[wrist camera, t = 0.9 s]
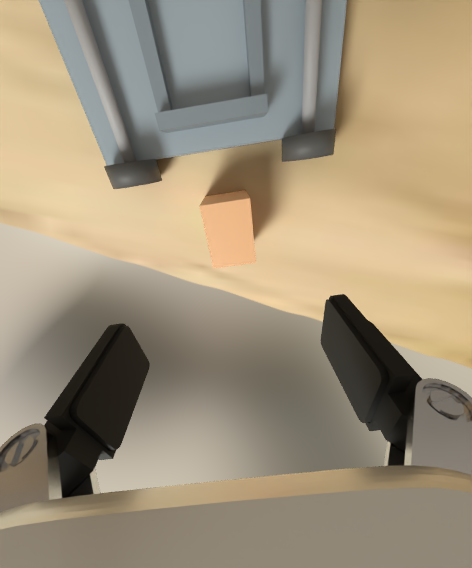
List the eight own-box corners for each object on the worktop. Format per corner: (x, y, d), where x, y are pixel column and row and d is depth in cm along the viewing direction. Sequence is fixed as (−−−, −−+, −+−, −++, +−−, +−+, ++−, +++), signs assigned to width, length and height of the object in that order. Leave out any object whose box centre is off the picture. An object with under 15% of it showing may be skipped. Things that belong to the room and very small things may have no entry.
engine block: (245, 189, 25) (250, 198, 20) (250, 243, 28) (256, 262, 23) (205, 196, 25) (199, 205, 20) (215, 248, 29) (213, 268, 24)
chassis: (359, -233, 12) (428, -438, 8) (325, 153, 23) (348, 152, 19) (-10, -146, 13) (-121, -289, 9) (121, 185, 24) (99, 191, 20)
